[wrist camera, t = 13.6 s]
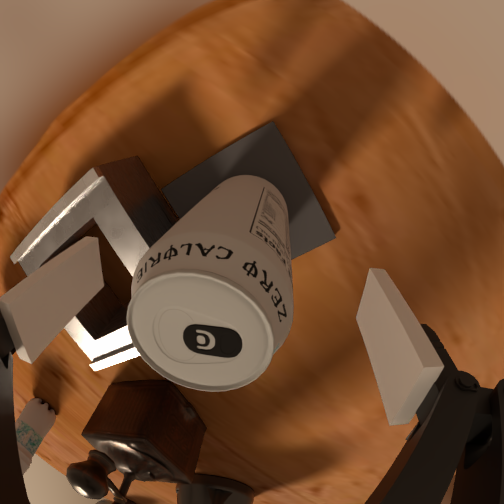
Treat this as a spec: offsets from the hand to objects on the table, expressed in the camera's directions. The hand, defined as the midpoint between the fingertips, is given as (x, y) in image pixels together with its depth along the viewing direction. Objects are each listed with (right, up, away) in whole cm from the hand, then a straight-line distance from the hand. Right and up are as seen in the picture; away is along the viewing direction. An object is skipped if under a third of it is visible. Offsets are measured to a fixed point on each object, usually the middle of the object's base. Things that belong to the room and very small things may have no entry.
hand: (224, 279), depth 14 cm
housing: (-10, +1, +12) cm, 16 cm away
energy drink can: (+1, +4, +9) cm, 10 cm away
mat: (+1, +4, +10) cm, 11 cm away
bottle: (-38, -28, +27) cm, 54 cm away
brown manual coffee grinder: (-12, -17, +20) cm, 29 cm away
